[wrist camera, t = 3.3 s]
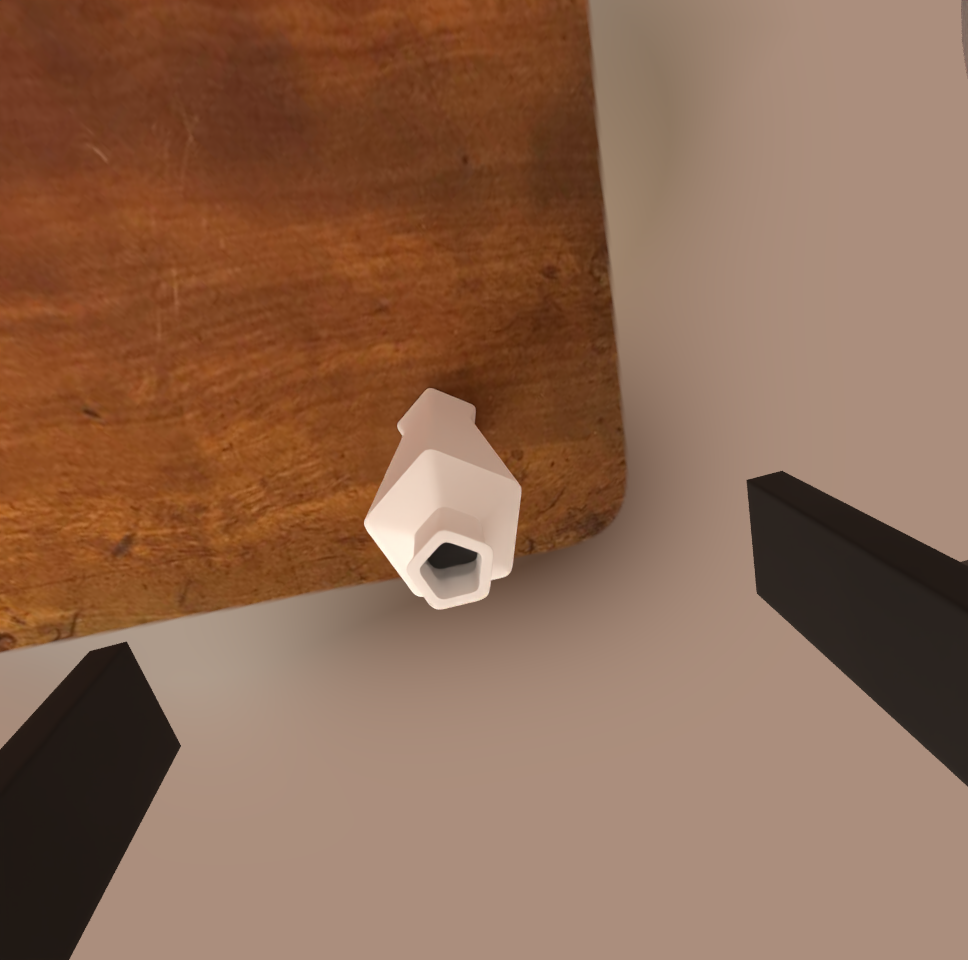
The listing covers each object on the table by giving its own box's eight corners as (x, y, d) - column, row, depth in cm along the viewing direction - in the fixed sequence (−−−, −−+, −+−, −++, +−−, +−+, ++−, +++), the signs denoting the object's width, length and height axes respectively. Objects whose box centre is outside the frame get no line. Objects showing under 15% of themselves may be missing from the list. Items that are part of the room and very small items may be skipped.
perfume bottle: (505, 442, 29) (580, 592, 15) (429, 487, 29) (433, 676, 15) (456, 361, 28) (488, 444, 13) (377, 410, 28) (328, 540, 14)
